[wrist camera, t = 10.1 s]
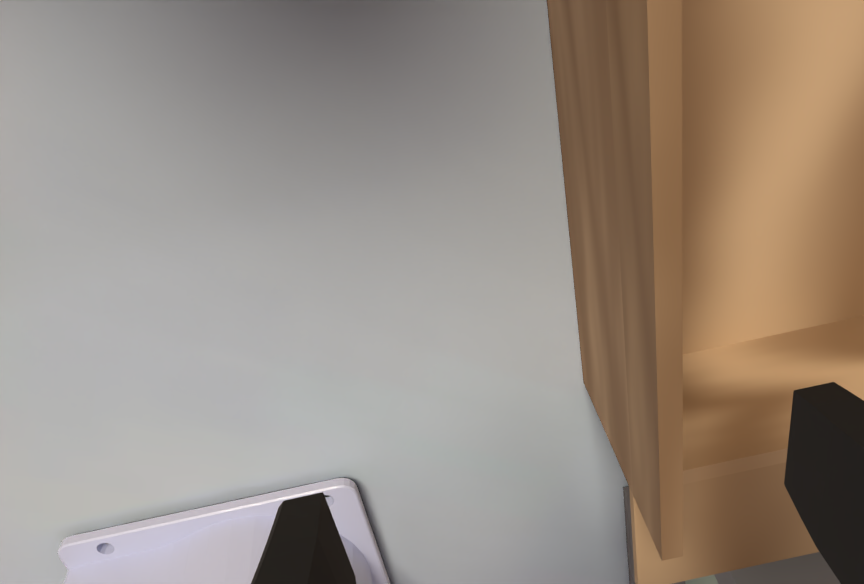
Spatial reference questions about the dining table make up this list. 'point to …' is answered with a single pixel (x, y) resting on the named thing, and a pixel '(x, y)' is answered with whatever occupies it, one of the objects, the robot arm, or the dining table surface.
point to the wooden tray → (712, 253)
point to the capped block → (777, 573)
